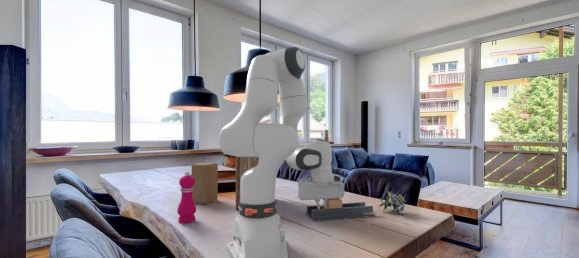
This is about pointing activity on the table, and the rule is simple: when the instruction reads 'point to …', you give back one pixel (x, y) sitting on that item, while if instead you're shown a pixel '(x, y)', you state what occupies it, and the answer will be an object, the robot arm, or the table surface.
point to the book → (241, 167)
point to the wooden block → (205, 182)
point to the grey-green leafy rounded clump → (394, 202)
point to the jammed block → (333, 203)
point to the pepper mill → (187, 200)
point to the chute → (340, 212)
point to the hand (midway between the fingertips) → (321, 209)
